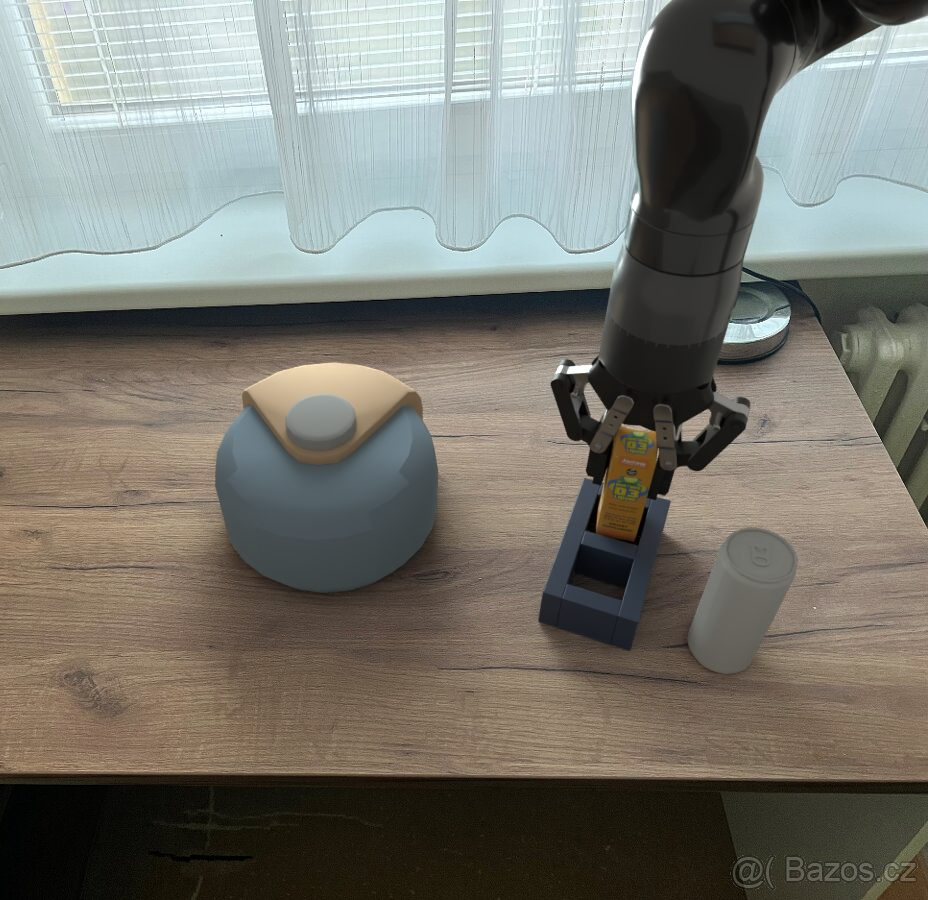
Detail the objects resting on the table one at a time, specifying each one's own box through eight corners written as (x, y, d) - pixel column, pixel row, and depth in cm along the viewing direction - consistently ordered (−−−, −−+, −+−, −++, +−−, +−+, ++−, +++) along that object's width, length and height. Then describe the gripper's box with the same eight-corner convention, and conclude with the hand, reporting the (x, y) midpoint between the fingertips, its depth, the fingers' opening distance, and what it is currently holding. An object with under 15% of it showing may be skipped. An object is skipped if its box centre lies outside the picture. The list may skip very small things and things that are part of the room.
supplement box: (593, 538, 71) (610, 452, 64) (598, 507, 74) (614, 421, 67) (635, 546, 71) (657, 459, 63) (639, 514, 73) (660, 427, 66)
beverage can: (751, 629, 68) (797, 532, 59) (753, 684, 65) (803, 588, 56) (685, 617, 69) (721, 520, 61) (685, 670, 66) (722, 575, 57)
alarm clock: (438, 435, 86) (439, 338, 77) (435, 607, 72) (436, 511, 63) (247, 433, 88) (227, 338, 80) (208, 598, 74) (180, 505, 66)
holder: (662, 530, 75) (671, 500, 73) (629, 651, 68) (638, 622, 65) (578, 507, 78) (584, 477, 75) (537, 621, 70) (542, 592, 67)
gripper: (544, 316, 57) (524, 493, 69) (781, 363, 52) (714, 546, 64) (574, 255, 61) (549, 431, 73) (794, 293, 56) (729, 475, 68)
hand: (626, 483), depth 68 cm, fingers closed on supplement box, 3 cm apart
